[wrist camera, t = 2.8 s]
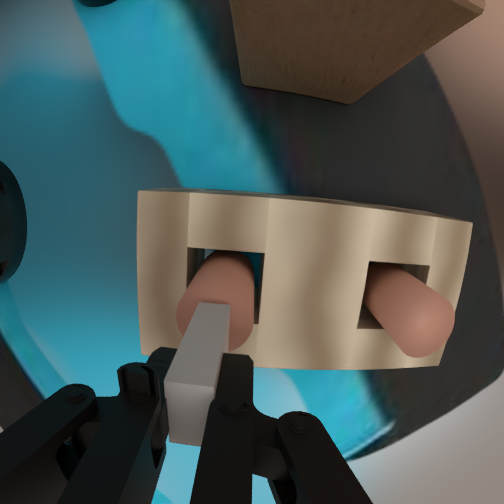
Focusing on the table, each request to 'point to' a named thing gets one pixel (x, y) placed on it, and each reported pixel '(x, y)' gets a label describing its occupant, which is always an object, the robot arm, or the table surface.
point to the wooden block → (338, 41)
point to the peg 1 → (222, 293)
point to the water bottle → (95, 2)
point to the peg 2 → (408, 309)
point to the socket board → (294, 270)
